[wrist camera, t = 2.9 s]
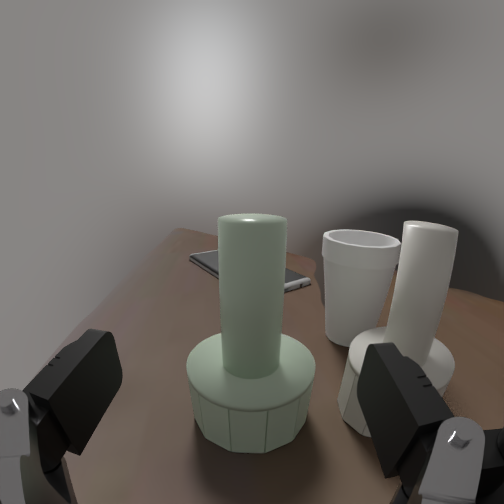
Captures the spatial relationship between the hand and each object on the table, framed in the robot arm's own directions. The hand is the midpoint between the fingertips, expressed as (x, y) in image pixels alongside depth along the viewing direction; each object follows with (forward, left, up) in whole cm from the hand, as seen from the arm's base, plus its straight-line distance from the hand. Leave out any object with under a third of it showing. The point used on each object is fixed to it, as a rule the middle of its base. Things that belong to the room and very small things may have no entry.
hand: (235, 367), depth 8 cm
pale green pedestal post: (-10, -6, -14) cm, 18 cm away
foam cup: (-28, -2, -15) cm, 32 cm away
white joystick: (-16, +6, -14) cm, 22 cm away
